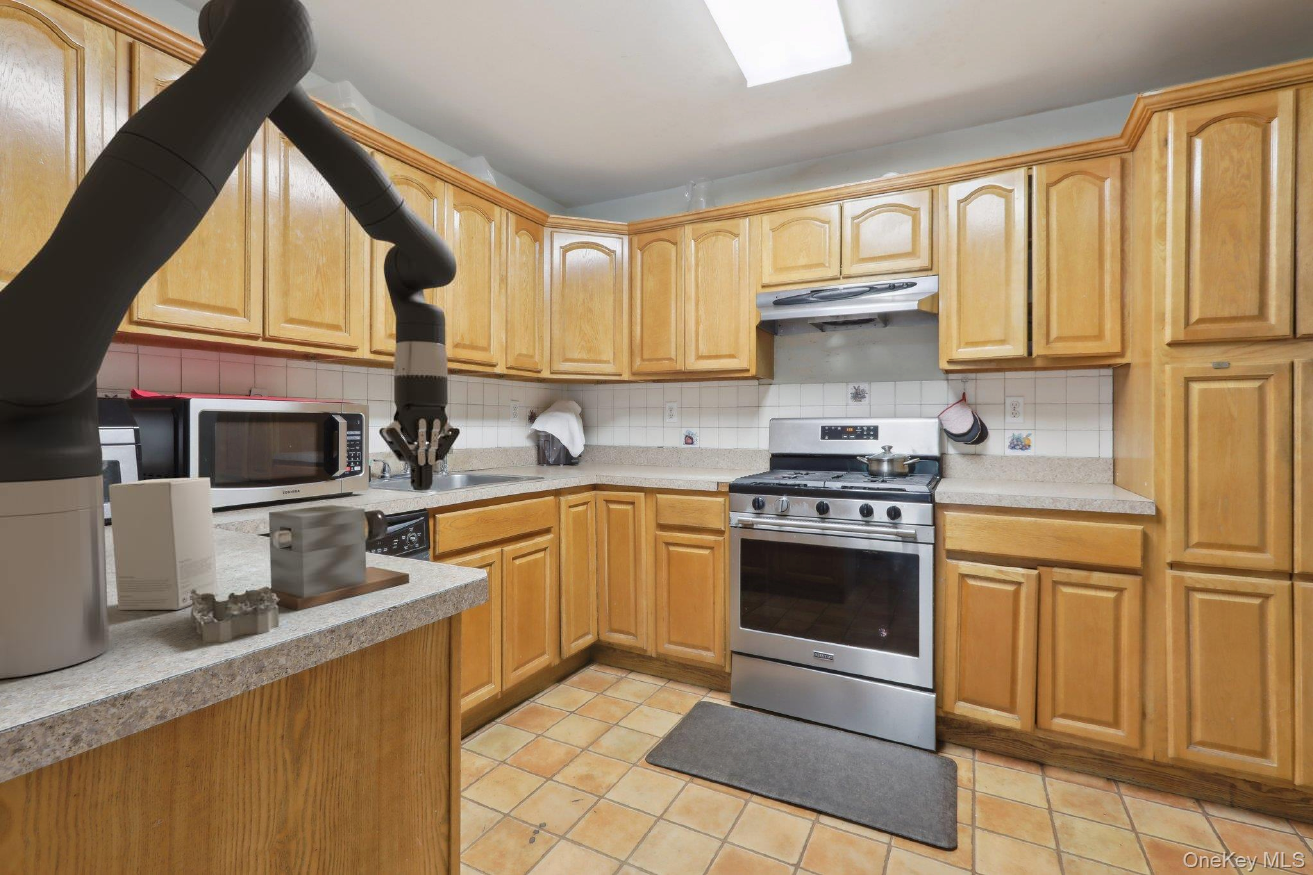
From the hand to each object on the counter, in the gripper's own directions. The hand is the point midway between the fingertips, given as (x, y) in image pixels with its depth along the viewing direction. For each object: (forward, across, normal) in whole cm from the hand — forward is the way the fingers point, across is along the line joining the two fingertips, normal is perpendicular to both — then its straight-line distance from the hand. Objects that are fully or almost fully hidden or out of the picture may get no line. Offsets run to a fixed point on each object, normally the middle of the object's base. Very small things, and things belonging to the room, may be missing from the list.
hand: (421, 489), depth 93 cm
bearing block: (+12, -13, 0) cm, 18 cm away
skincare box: (+13, -28, +13) cm, 33 cm away
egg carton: (+13, -27, -4) cm, 30 cm away
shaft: (+7, -14, 0) cm, 15 cm away
